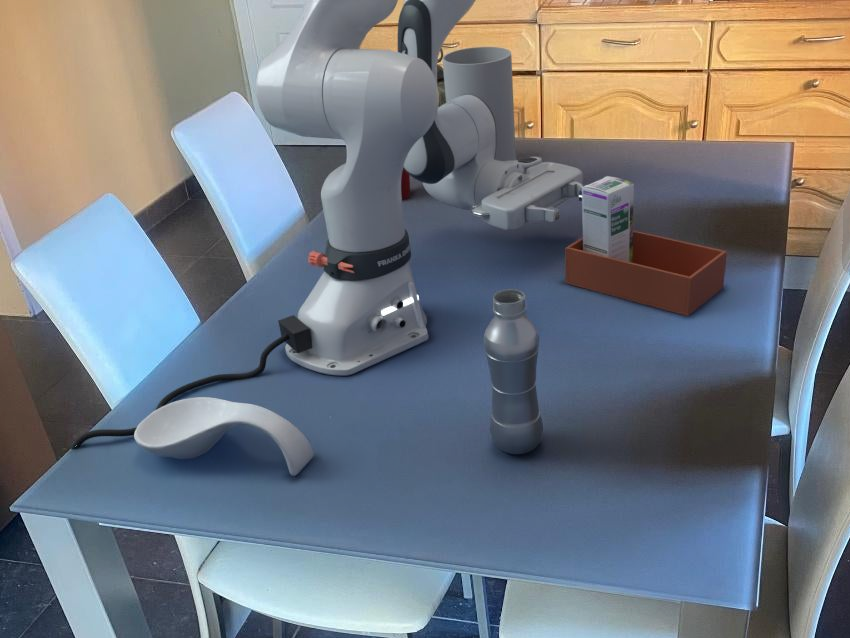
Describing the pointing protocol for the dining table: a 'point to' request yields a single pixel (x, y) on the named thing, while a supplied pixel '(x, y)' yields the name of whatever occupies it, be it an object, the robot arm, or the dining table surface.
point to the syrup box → (608, 218)
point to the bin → (652, 272)
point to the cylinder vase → (485, 88)
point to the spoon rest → (216, 429)
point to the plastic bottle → (513, 374)
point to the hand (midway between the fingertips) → (573, 205)
